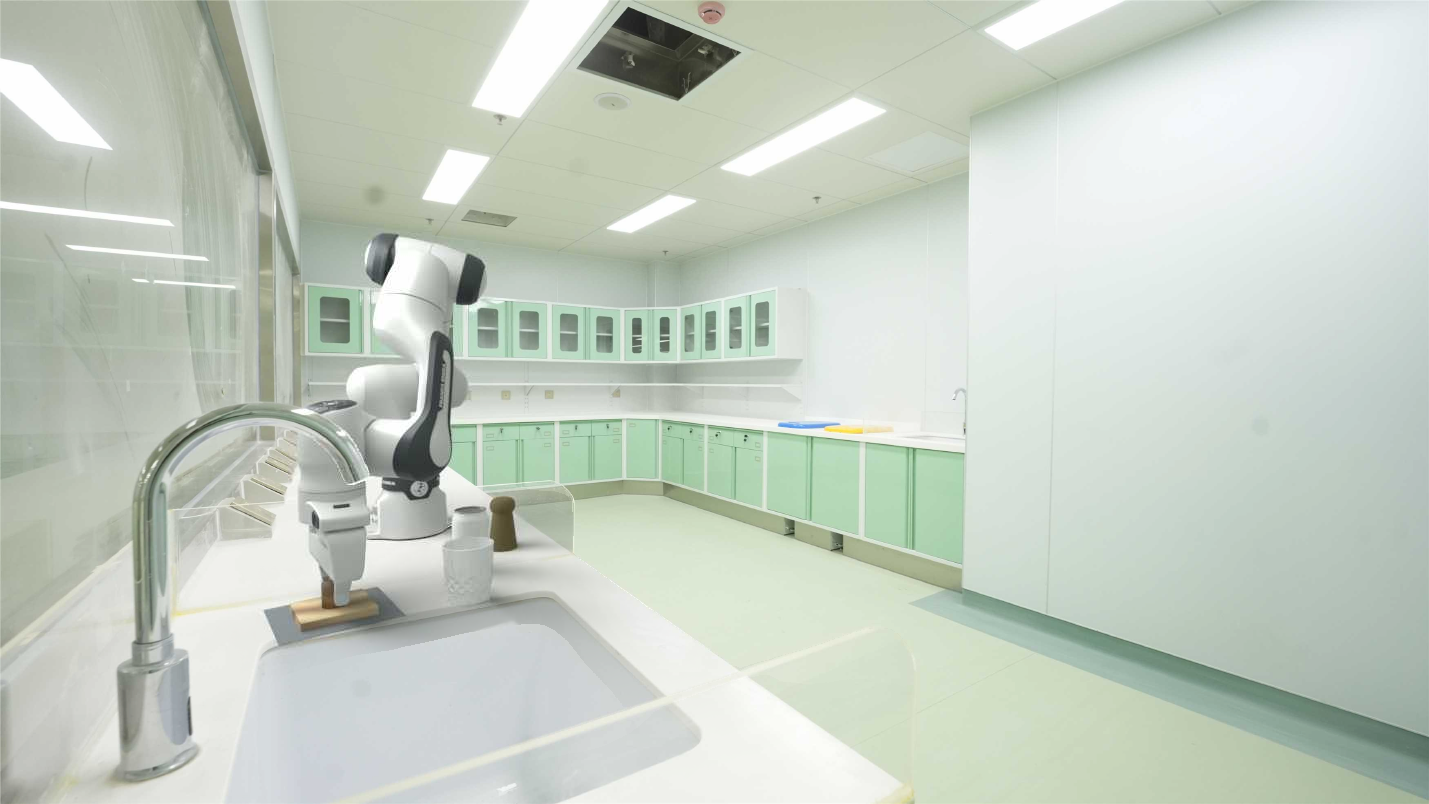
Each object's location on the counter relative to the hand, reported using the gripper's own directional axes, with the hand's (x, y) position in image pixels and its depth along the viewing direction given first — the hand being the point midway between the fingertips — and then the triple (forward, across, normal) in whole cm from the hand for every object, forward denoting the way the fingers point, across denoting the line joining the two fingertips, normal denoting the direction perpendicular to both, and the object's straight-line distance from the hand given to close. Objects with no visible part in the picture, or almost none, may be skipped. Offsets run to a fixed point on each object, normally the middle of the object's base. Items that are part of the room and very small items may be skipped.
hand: (334, 595), depth 95 cm
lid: (+3, 0, 0) cm, 3 cm away
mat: (+4, 0, 0) cm, 4 cm away
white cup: (+4, +7, +18) cm, 19 cm away
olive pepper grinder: (+4, -19, +35) cm, 40 cm away
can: (+4, -8, +24) cm, 26 cm away
